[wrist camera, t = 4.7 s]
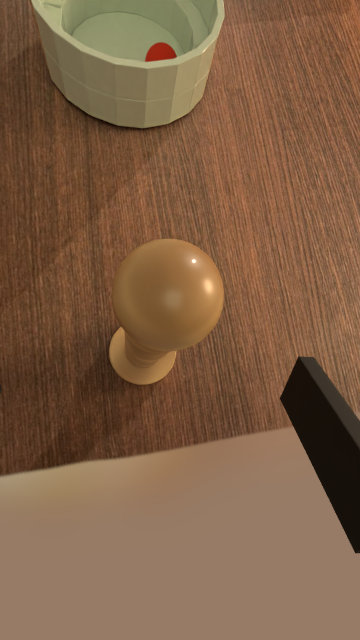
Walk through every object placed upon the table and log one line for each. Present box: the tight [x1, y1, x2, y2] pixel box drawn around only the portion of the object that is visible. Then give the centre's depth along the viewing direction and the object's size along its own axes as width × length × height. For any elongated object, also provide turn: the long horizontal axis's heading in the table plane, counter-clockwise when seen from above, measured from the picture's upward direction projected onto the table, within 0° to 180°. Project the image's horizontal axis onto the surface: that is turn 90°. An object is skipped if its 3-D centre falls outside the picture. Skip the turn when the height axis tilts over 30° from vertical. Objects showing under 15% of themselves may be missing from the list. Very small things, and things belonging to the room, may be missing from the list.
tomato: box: [145, 42, 177, 62], centre depth 27 cm, size 3×3×3 cm
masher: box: [109, 239, 224, 385], centre depth 16 cm, size 5×5×17 cm
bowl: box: [29, 0, 225, 128], centre depth 26 cm, size 15×15×6 cm
